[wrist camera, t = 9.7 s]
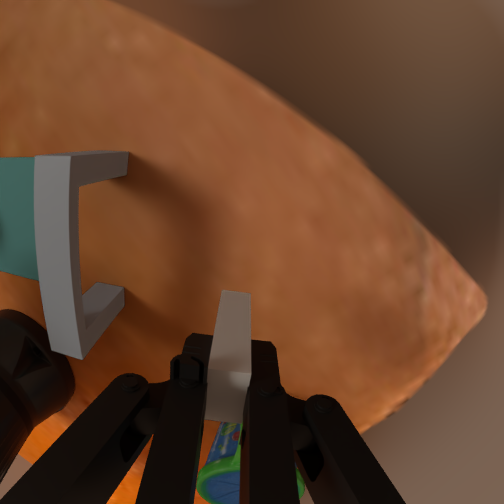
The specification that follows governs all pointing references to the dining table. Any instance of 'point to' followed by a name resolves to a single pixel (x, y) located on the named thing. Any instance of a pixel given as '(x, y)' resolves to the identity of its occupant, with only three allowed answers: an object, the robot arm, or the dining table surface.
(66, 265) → the bridge
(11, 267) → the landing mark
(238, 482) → the snack cup
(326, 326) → the dining table surface
